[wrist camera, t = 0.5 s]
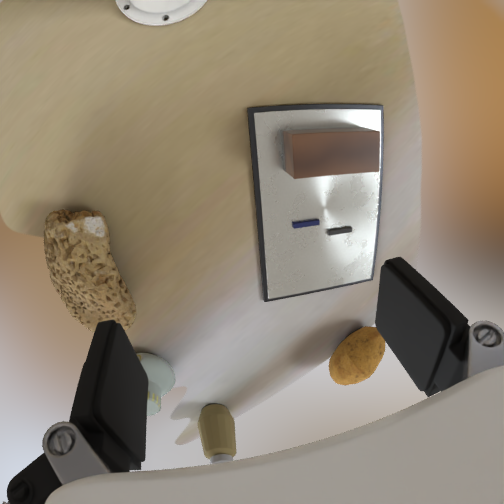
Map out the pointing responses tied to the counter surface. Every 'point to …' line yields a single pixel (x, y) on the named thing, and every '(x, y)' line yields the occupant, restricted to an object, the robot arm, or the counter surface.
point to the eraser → (330, 151)
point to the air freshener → (156, 380)
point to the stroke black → (339, 231)
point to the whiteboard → (313, 205)
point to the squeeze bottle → (217, 433)
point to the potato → (357, 356)
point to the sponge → (86, 269)
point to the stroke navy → (306, 223)
